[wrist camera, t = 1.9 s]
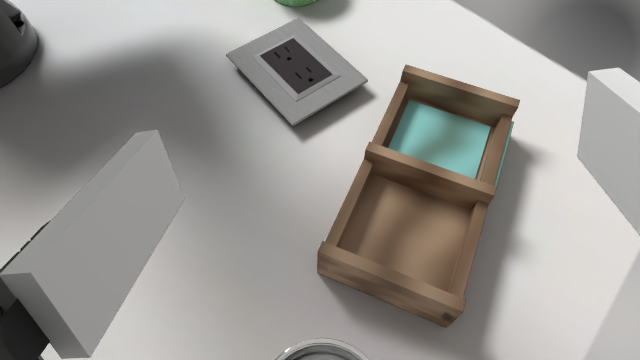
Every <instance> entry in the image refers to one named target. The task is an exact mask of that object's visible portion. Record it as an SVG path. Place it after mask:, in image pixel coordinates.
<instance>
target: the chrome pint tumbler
mask: <svg viewBox="0 0 640 360" xmlns="http://www.w3.org/2000/svg"><path fill="white" fill-rule="evenodd" d="M275 360H369V359H368V358H367V357H366V356H365V355H364V354H363V353H362V352H360V351H359V350H358V349H356V348H355V347H353V346H351V345H349V344H347V343H345V342H342V341H339V340H335V339H329V338H315V339H309V340H305V341H302V342H299V343H297V344H295V345H293V346H291V347H289V348H288V349H286V350H285V351H283V352H282V353H281V354H280V355H279V356H278V357H277V358H276V359H275Z"/></svg>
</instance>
